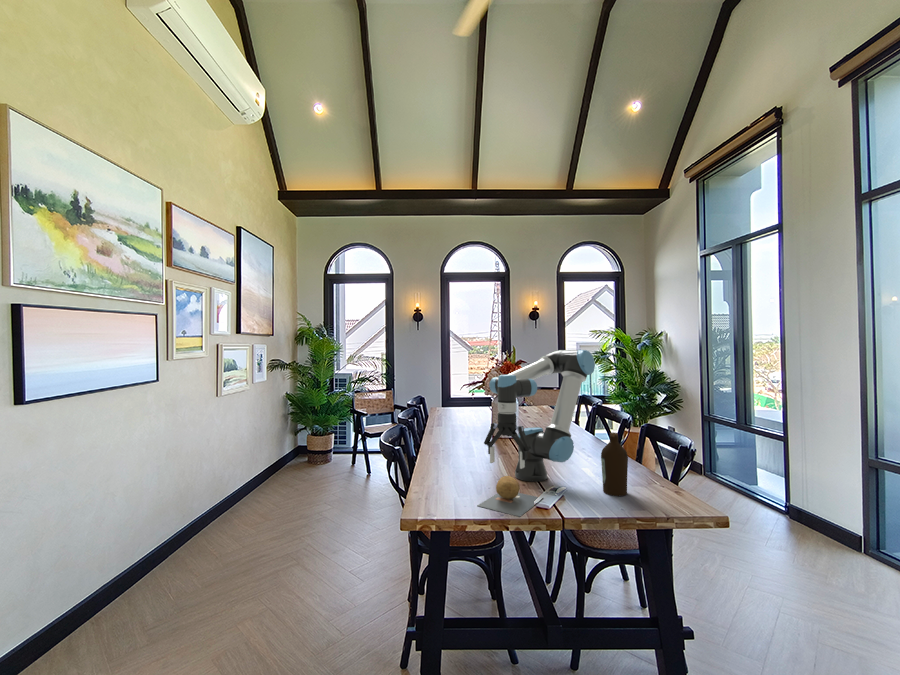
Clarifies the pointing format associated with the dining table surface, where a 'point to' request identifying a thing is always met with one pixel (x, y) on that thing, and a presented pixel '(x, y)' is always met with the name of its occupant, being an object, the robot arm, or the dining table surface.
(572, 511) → the dining table surface
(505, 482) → the potato
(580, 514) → the dining table surface
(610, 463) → the olive oil
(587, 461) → the dining table surface
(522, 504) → the tile
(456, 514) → the dining table surface
